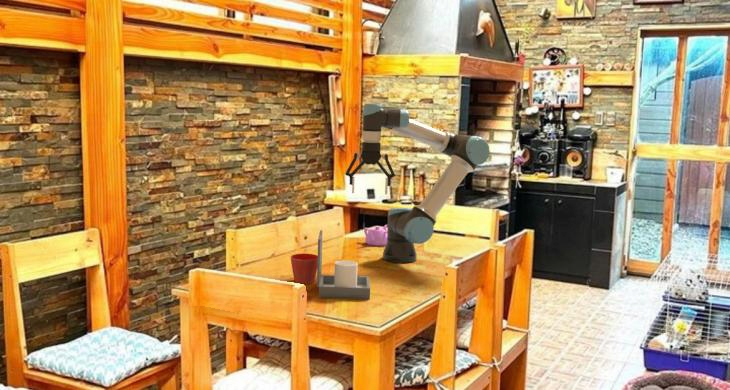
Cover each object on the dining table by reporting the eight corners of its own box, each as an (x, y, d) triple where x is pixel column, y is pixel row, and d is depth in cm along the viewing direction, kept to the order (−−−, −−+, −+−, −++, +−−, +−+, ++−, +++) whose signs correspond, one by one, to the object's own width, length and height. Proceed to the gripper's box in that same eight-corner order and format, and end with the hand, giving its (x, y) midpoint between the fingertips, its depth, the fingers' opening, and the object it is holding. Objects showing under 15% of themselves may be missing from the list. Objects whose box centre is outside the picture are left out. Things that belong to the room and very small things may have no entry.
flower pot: (307, 286, 263) (308, 260, 261) (284, 281, 268) (285, 256, 267) (324, 280, 272) (324, 256, 270) (301, 276, 277) (301, 252, 276)
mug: (336, 284, 262) (337, 257, 261) (358, 285, 262) (359, 258, 260) (332, 293, 251) (333, 265, 249) (355, 294, 250) (356, 266, 249)
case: (368, 285, 267) (370, 231, 264) (369, 299, 248) (371, 240, 245) (317, 284, 266) (319, 229, 263) (315, 297, 248) (316, 239, 245)
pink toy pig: (386, 241, 352) (387, 224, 351) (391, 247, 338) (392, 229, 337) (363, 241, 350) (363, 223, 349) (366, 247, 337) (367, 229, 335)
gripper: (401, 142, 290) (399, 193, 293) (340, 140, 289) (339, 191, 292) (402, 143, 282) (400, 195, 285) (340, 141, 282) (339, 193, 284)
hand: (369, 193), depth 288 cm, fingers open, 13 cm apart
